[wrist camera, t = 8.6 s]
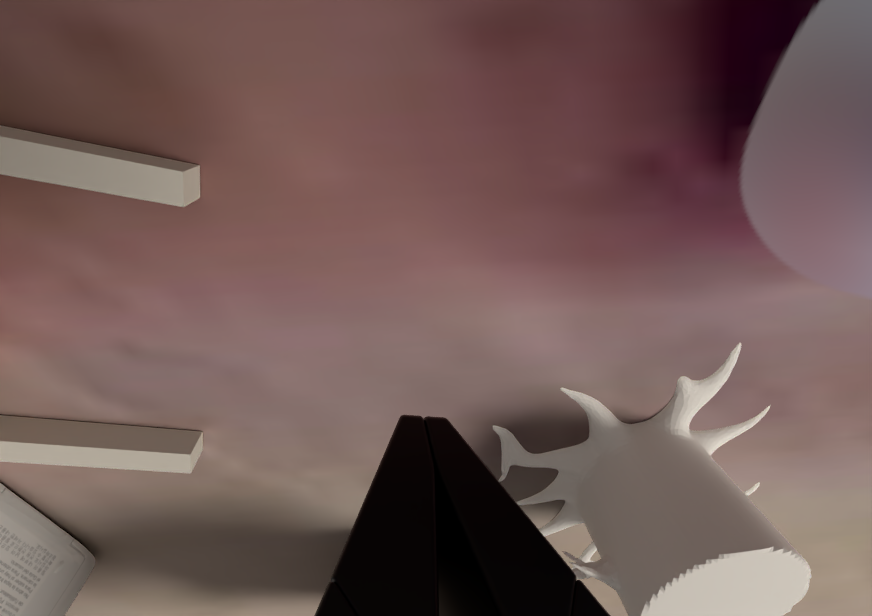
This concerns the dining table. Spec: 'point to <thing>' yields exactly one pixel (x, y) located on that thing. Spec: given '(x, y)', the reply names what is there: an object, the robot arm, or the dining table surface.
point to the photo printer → (37, 562)
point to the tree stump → (667, 512)
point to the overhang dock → (114, 176)
